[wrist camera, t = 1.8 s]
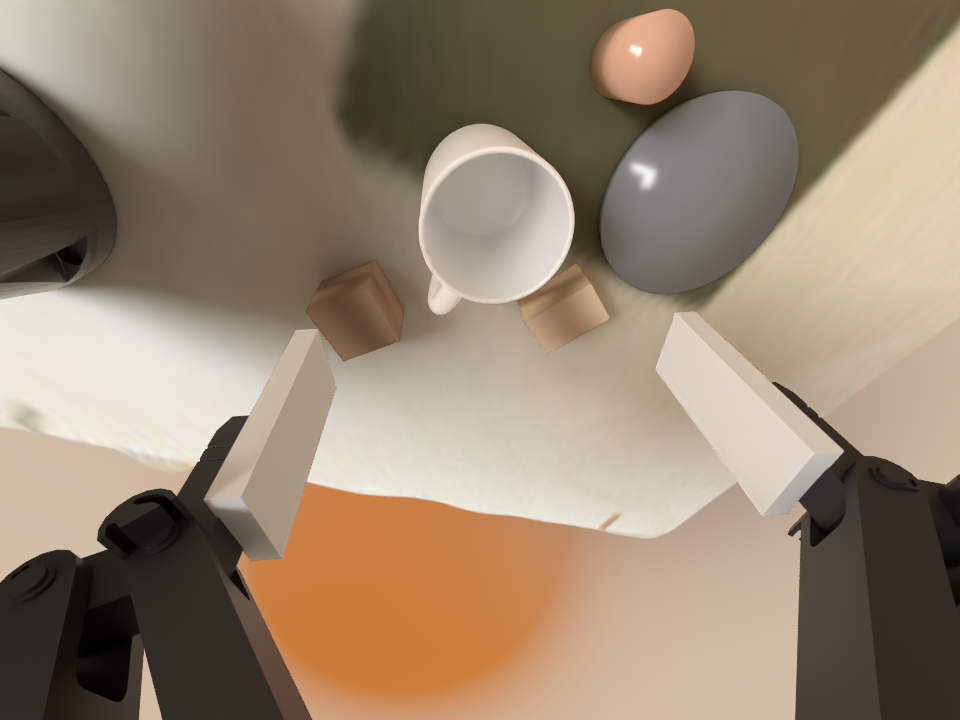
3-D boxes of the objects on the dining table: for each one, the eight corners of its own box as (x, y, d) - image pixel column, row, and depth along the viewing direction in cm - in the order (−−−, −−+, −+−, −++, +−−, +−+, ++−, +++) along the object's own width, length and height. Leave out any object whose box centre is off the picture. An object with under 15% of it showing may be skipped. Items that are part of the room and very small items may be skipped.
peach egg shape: (585, 99, 25) (612, 104, 21) (596, 18, 23) (630, 8, 19) (642, 98, 26) (680, 104, 22) (659, 19, 23) (706, 9, 19)
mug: (474, 294, 33) (486, 367, 25) (385, 250, 30) (367, 317, 22) (557, 164, 28) (607, 204, 19) (458, 93, 24) (469, 106, 16)
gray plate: (584, 293, 34) (586, 297, 34) (623, 90, 25) (628, 90, 25) (740, 286, 35) (745, 290, 35) (831, 90, 26) (841, 91, 26)
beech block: (537, 329, 36) (547, 354, 33) (516, 299, 34) (525, 323, 31) (594, 295, 35) (610, 318, 32) (576, 262, 33) (591, 283, 29)
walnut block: (354, 327, 34) (343, 361, 31) (321, 281, 31) (305, 311, 28) (404, 309, 34) (399, 340, 30) (376, 259, 31) (367, 287, 27)
